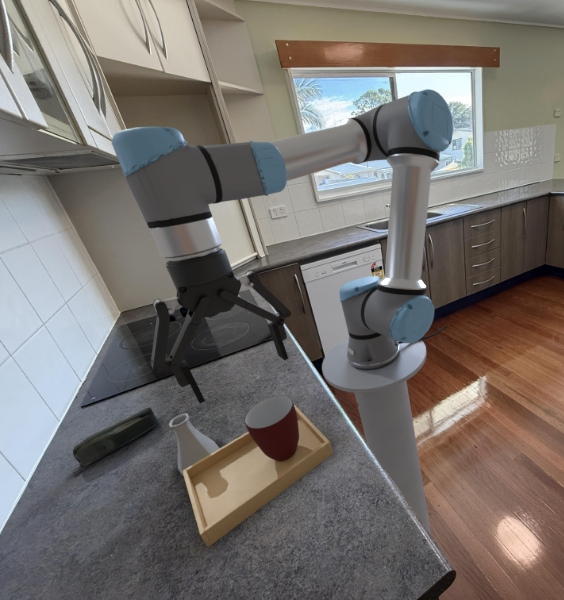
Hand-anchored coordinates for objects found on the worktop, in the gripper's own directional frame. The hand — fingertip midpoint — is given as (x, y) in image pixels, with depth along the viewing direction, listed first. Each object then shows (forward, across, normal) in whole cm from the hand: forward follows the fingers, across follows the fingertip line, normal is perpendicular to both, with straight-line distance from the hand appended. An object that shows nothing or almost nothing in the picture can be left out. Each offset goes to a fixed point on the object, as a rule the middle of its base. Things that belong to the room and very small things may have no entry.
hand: (245, 376), depth 52 cm
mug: (+17, -1, +1) cm, 17 cm away
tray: (+18, +3, +1) cm, 18 cm away
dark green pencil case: (+18, +23, -30) cm, 42 cm away
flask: (+18, +11, -11) cm, 24 cm away
